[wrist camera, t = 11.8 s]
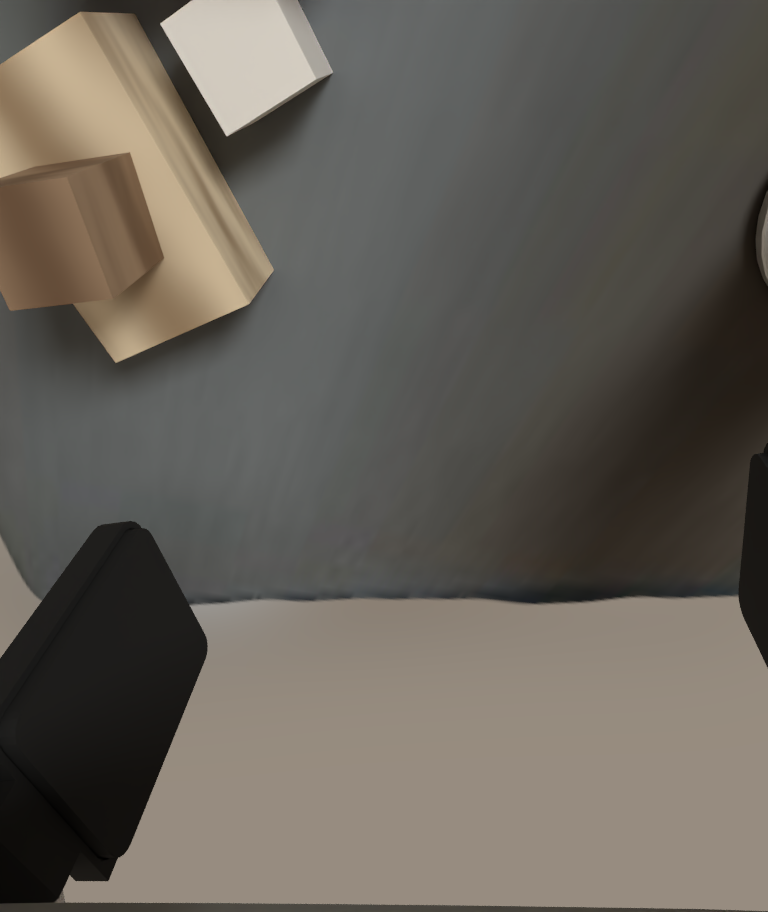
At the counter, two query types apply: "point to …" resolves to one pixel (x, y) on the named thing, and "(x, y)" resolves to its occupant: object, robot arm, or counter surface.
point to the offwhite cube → (246, 55)
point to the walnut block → (74, 232)
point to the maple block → (157, 165)
